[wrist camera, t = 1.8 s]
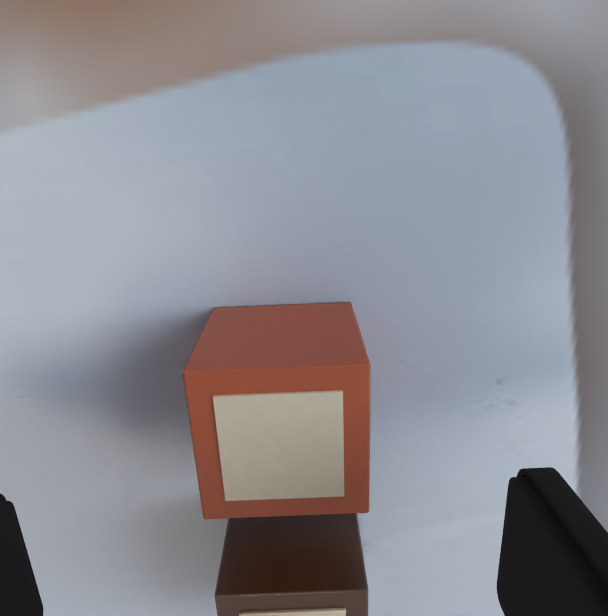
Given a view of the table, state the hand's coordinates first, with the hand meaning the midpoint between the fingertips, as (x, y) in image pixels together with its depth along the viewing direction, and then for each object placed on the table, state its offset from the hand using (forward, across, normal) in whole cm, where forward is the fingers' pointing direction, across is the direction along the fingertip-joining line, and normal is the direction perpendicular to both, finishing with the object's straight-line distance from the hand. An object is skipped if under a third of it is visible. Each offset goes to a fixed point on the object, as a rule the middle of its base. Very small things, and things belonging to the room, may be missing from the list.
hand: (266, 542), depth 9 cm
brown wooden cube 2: (+6, 0, +6) cm, 8 cm away
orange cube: (+6, 0, -1) cm, 6 cm away
